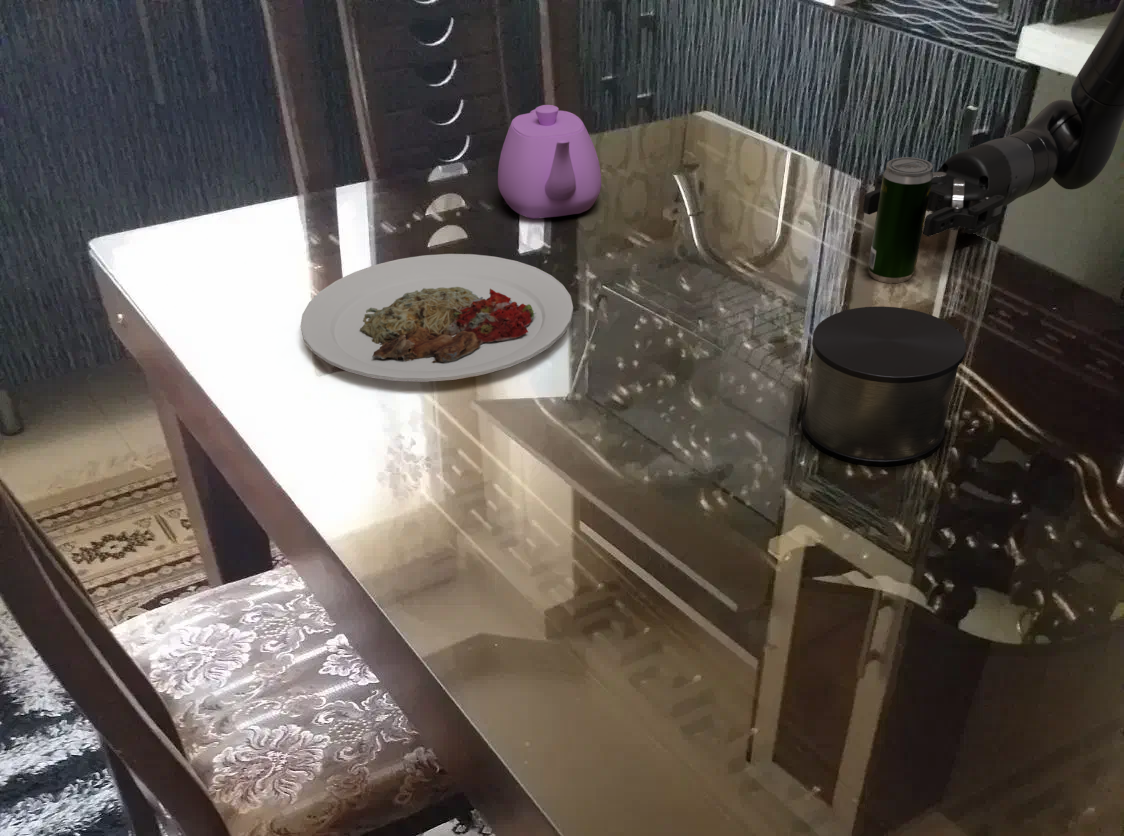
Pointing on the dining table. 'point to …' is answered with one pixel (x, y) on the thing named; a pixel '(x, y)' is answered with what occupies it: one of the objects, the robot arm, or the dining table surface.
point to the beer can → (900, 219)
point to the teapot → (548, 165)
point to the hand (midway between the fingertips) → (895, 215)
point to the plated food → (436, 317)
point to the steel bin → (881, 385)
